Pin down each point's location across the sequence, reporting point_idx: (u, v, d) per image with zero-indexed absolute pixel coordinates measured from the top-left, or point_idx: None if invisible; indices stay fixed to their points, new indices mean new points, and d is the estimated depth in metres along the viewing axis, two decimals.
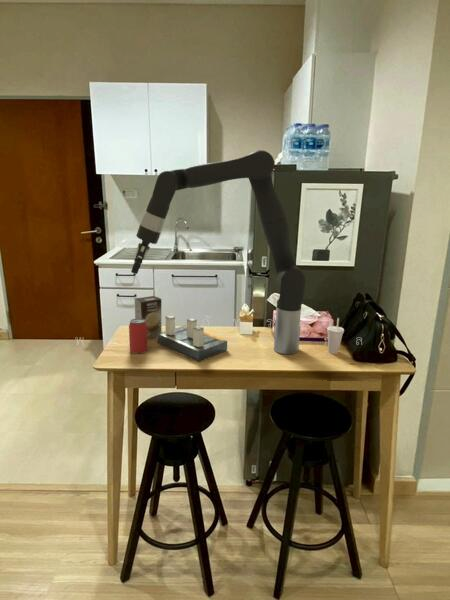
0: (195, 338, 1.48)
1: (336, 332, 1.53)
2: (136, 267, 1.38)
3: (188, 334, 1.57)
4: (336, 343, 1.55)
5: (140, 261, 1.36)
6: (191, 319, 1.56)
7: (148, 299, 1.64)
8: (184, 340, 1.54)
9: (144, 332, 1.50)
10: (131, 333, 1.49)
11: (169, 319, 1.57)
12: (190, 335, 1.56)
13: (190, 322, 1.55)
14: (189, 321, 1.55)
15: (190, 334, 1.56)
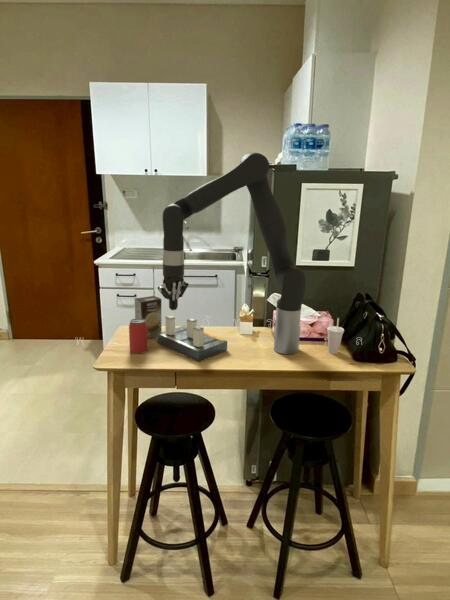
0: (195, 338, 1.48)
1: (336, 332, 1.53)
2: (170, 304, 1.46)
3: (188, 334, 1.57)
4: (336, 343, 1.55)
5: (167, 297, 1.44)
6: (191, 319, 1.56)
7: (148, 299, 1.64)
8: (184, 340, 1.54)
9: (144, 332, 1.50)
10: (131, 333, 1.49)
11: (169, 319, 1.57)
12: (190, 335, 1.56)
13: (190, 322, 1.55)
14: (189, 321, 1.55)
15: (190, 334, 1.56)
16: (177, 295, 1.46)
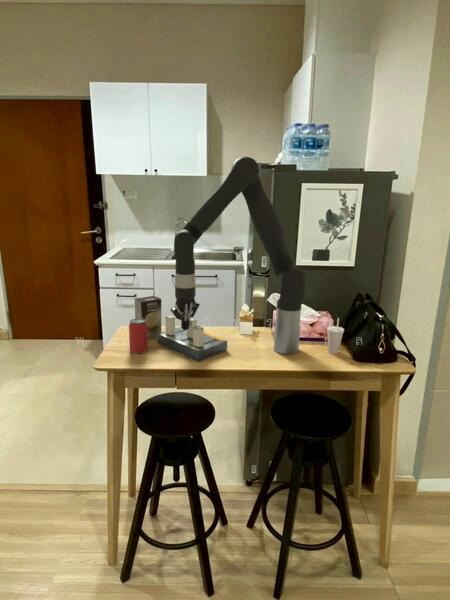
0: (195, 338, 1.48)
1: (336, 332, 1.53)
2: (182, 324, 1.52)
3: (188, 334, 1.57)
4: (336, 343, 1.55)
5: (180, 318, 1.50)
6: (191, 319, 1.56)
7: (148, 299, 1.64)
8: (184, 340, 1.54)
9: (144, 332, 1.50)
10: (131, 333, 1.49)
11: (169, 319, 1.57)
12: (190, 335, 1.56)
13: (190, 322, 1.55)
14: (189, 321, 1.55)
15: (190, 334, 1.56)
16: (189, 315, 1.52)
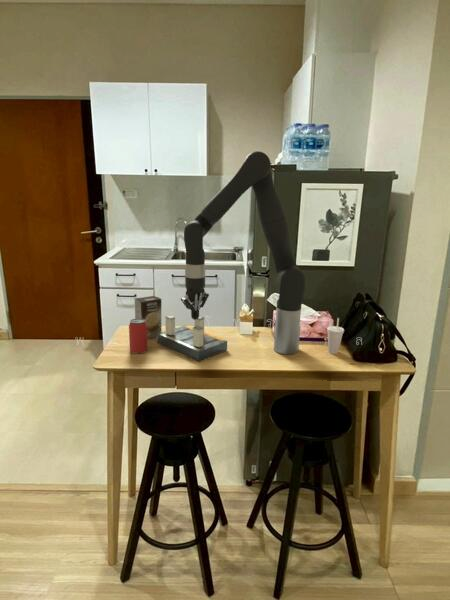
0: (195, 338, 1.48)
1: (336, 332, 1.53)
2: (192, 314, 1.55)
3: None
4: (336, 343, 1.55)
5: (190, 308, 1.53)
6: (199, 317, 1.59)
7: (148, 299, 1.64)
8: (184, 340, 1.54)
9: (144, 332, 1.50)
10: (131, 333, 1.49)
11: (169, 319, 1.57)
12: None
13: (198, 320, 1.58)
14: (197, 319, 1.58)
15: None
16: (199, 305, 1.55)
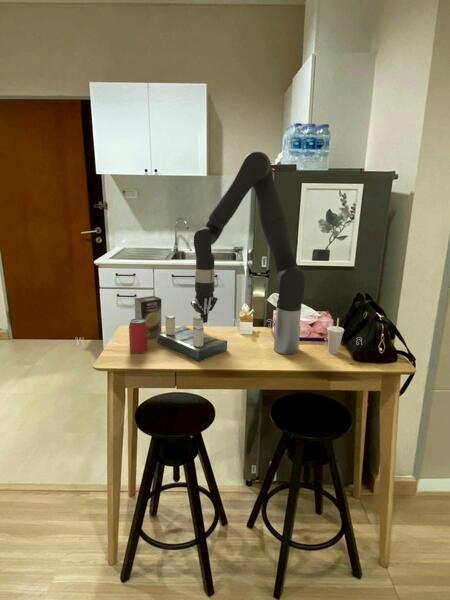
0: (195, 338, 1.48)
1: (336, 332, 1.53)
2: None
3: None
4: (336, 343, 1.55)
5: None
6: (197, 317, 1.58)
7: (148, 299, 1.64)
8: (184, 340, 1.54)
9: (144, 332, 1.50)
10: (131, 333, 1.49)
11: (169, 319, 1.57)
12: None
13: (197, 320, 1.57)
14: (196, 319, 1.57)
15: None
16: (208, 309, 1.60)
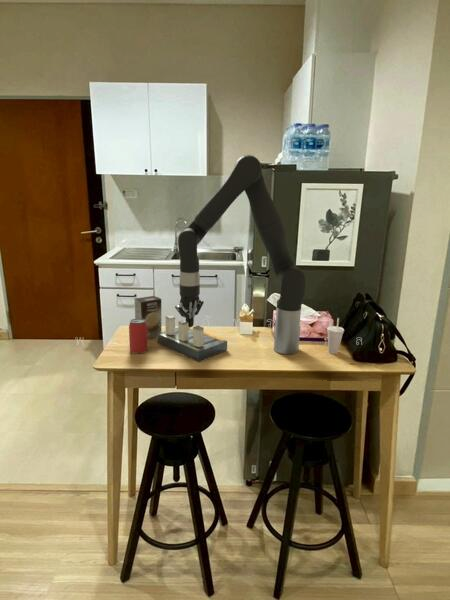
0: (195, 338, 1.48)
1: (336, 332, 1.53)
2: (187, 321, 1.54)
3: (180, 336, 1.54)
4: (336, 343, 1.55)
5: None
6: (183, 321, 1.53)
7: (148, 299, 1.64)
8: None
9: (144, 332, 1.50)
10: (131, 333, 1.49)
11: (169, 319, 1.57)
12: (182, 338, 1.53)
13: (182, 325, 1.52)
14: (181, 323, 1.52)
15: (182, 337, 1.53)
16: (193, 313, 1.54)
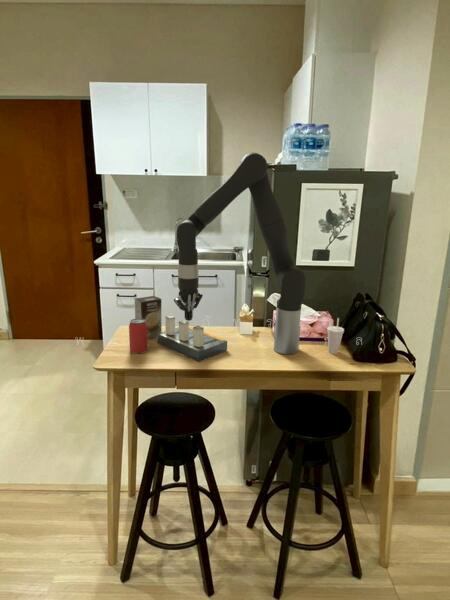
0: (195, 338, 1.48)
1: (336, 332, 1.53)
2: (186, 314, 1.53)
3: (180, 336, 1.54)
4: (336, 343, 1.55)
5: None
6: (183, 321, 1.53)
7: (148, 299, 1.64)
8: None
9: (144, 332, 1.50)
10: (131, 333, 1.49)
11: (169, 319, 1.57)
12: (182, 338, 1.53)
13: (182, 324, 1.52)
14: (181, 323, 1.52)
15: (182, 337, 1.53)
16: (192, 306, 1.53)
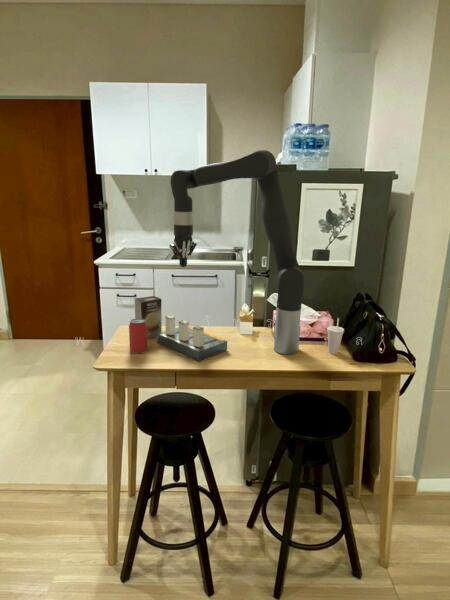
0: (195, 338, 1.48)
1: (336, 332, 1.53)
2: (180, 261, 1.62)
3: (180, 336, 1.54)
4: (336, 343, 1.55)
5: (178, 255, 1.60)
6: (183, 321, 1.53)
7: (148, 299, 1.64)
8: None
9: (144, 332, 1.50)
10: (131, 333, 1.49)
11: (169, 319, 1.57)
12: (182, 338, 1.53)
13: (182, 324, 1.52)
14: (181, 323, 1.52)
15: (182, 337, 1.53)
16: (186, 253, 1.63)
